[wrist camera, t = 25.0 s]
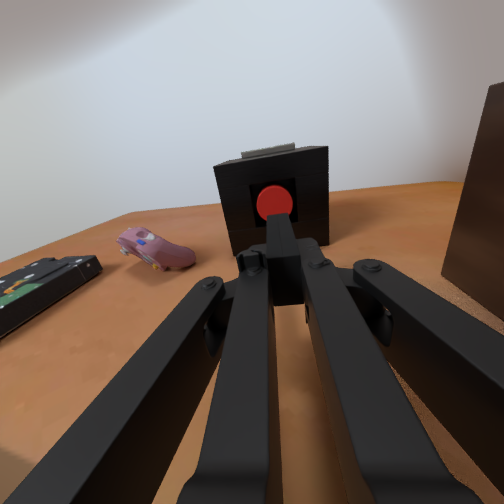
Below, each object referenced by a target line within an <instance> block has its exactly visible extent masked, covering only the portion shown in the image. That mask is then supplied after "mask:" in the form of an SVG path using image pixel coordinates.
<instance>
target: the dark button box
mask: <svg viewBox="0 0 504 504" xmlns="http://www.w3.org/2000/svg"><path fill="white" fill-rule="evenodd" d="M241 155H242V158H241V159H235V160H229V161H226V162H223V163H221V164H218V165H216V166H214V167H213V169H214V173H215V177H216V182H217V186H218V190H219V195H220V199H221V204H222V208H223V212H224V217H225V221H226V226H227V230H228V234H229V238H230V243H231V247H232V252H233V256H237V255H238V254H239V253H240V252H242V251H245V250H248V249H249V248H250V247H251V246H252V245H259V244H266V236H267V221H266V220H264V219H263V218H262V217H261V216H260V215H259V213H258V211H257V199H258V194H259V192H260V191H261V189H262V188H263V187H265V186H266V185H268V184H271V183H278V184H281V185H283V186H284V187H286V189H287V190H288V191H289V193H290V195H291V197H292V201H293V207H292V211H291V213H290V214H289V219H290V222H291V225H292V228H293V232H294V235H295V238H296V239H303V238H312V239H314V240H316V241H317V243H318V245H319V246H325V245H329V173H328V172H329V171H328V170H329V165H328V164H329V160H328V146H307V147H301V148H296V149H295V144H294V143H290V144H284V145H279V146H273V147H268V148H262V149H257V150H251V151H246V152H241Z"/></svg>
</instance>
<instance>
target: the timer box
mask: <svg viewBox="0 0 504 504" xmlns="http://www.w3.org/2000/svg"><path fill="white" fill-rule="evenodd" d="M441 275H442V276H444V277H445V278H446V279H448V280H449V281H450V282H452V283H453V284H454V285H456V286H457V287H459V288H460V289H461V290H463V291H464V292H465V293H467V294H468V295H469V296H471V297H472V298H473V299H475V300H476V301H478V302H479V303H480V304H482V305H483V306H484V307H486V308H487V309H488V310H490V311H491V312H492V313H494V314H495V315H497V316H498V317H499V318H501V319H502V320H503V321H504V82H501V83H497V84H494V85H491V86H489V89H488V93H487V97H486V101H485V105H484V108H483V112H482V116H481V120H480V124H479V128H478V132H477V136H476V140H475V143H474V147H473V151H472V155H471V159H470V163H469V166H468V170H467V175H466V178H465V182H464V186H463V190H462V194H461V197H460V201H459V205H458V209H457V213H456V217H455V221H454V225H453V228H452V232H451V236H450V240H449V244H448V248H447V252H446V256H445V259H444V263H443V267H442V271H441Z"/></svg>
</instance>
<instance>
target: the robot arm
mask: <svg viewBox="0 0 504 504" xmlns="http://www.w3.org/2000/svg"><path fill="white" fill-rule="evenodd" d="M236 260H237V264H238V269H239V277H238V278H236V279H234V280H232V281H229V282H225V283H223V279H222V278H220V277H216V276H213V277H206V278H204V279H202V280H200V281H199V282H198V283H196V284H195V286H194V287H193V288H192V289H191V290H190V291H189V292H188V293H187V295H186V296H185V297H184V298H183V299H182V300H181V301H180V303H179V304H178V305H177V306H176V307H175V308H174V309H173V311H172V312H171V313H170V314H169V315H168V316H167V317H166V318H165V320H164V321H163V322H162V323H161V324H160V325H159V326H158V328H157V329H156V330H155V331H154V332H153V333H152V334H151V336H150V337H149V338H148V339H147V340H146V341H145V342H144V344H143V345H142V346H141V347H140V348H139V349H138V350H137V351H136V353H135V354H134V355H133V356H132V357H131V358H130V359H129V361H128V362H127V363H126V364H125V365H124V366H123V367H122V369H121V370H120V371H119V372H118V373H117V374H116V375H115V376H114V378H113V379H112V380H111V381H110V382H109V383H108V384H107V386H106V387H105V388H104V389H103V390H102V391H101V392H100V394H99V395H98V396H97V397H96V398H95V399H94V400H93V402H92V403H91V404H90V405H89V406H88V407H87V408H86V409H85V411H84V412H83V413H82V414H81V415H80V416H79V417H78V419H77V420H76V421H75V422H74V423H73V424H72V425H71V427H70V428H69V429H68V430H67V431H66V432H65V433H64V434H63V436H62V437H61V438H60V439H59V440H58V441H57V442H56V444H55V445H54V446H53V447H52V448H51V449H50V450H49V452H48V453H47V454H46V455H45V456H44V457H43V458H42V460H41V461H40V462H39V463H38V464H37V465H36V466H35V467H34V469H33V470H32V471H31V472H30V473H29V474H28V475H27V477H26V478H25V479H24V480H23V481H22V482H21V483H20V485H19V486H18V487H17V488H16V489H15V490H14V491H13V493H12V494H11V495H10V496H9V497H8V499H6V500H5V502H4V503H3V504H152V502H153V500H154V497H155V495H156V493H157V491H158V489H159V487H160V485H161V483H162V481H163V478H164V476H165V474H166V472H167V470H168V468H169V466H170V464H171V462H172V460H173V457H174V455H175V453H176V451H177V449H178V447H179V445H180V443H181V441H182V439H183V436H184V434H185V432H186V430H187V428H188V426H189V424H190V422H191V420H192V418H193V415H194V413H195V411H196V409H197V407H198V405H199V403H200V401H201V399H202V396H203V394H204V392H205V390H206V388H207V386H208V384H209V382H210V380H211V378H212V375H213V373H214V371H215V369H216V367H217V365H218V363H219V361H220V365H219V369H218V374H217V378H216V383H215V388H214V392H213V397H212V402H211V406H210V411H209V415H208V420H207V425H206V429H205V434H204V439H203V443H202V448H201V452H200V457H199V461H198V465H197V468H196V470H195V473H194V475H193V476H192V477H191V478H190V479H189V480H188V481H187V482H186V483H185V484H184V486H183V488H182V490H181V492H180V495H179V497H178V500H177V503H176V504H283V486H282V465H281V443H280V422H279V400H278V378H277V357H276V335H275V314H274V307H273V306H285V305H297V304H304V302H305V315H306V323H308V326H309V330H310V335H311V339H312V344H313V348H314V352H315V357H316V361H317V366H318V370H319V375H320V379H321V384H322V388H323V393H324V397H325V402H326V406H327V410H328V415H329V419H330V424H331V428H332V433H333V437H334V442H335V446H336V451H337V455H338V459H339V464H340V468H341V473H342V477H343V482H344V486H345V491H346V495H347V500H348V504H484V503H483V502H482V500H481V499H480V498H479V497H478V496H477V495H476V494H475V493H474V491H473V490H471V489H470V488H468V487H467V486H465V485H464V484H462V483H461V482H459V481H458V480H456V479H455V478H454V477H453V475H452V474H451V473H450V472H449V471H448V469H447V467H446V466H445V464H444V463H443V461H442V459H441V457H440V456H439V454H438V452H437V450H436V448H435V447H434V445H433V443H432V441H431V439H430V438H429V436H428V434H427V432H426V430H425V429H424V427H423V425H422V423H421V421H420V420H419V418H418V416H417V414H416V412H415V410H414V409H413V407H412V405H411V403H410V401H409V400H408V398H407V396H406V394H405V392H404V391H403V389H402V387H401V385H400V383H399V382H398V380H397V378H396V376H395V374H394V372H393V371H392V369H391V367H390V365H389V363H390V364H391V365H392V367H393V368H394V369H395V370H396V371H397V372H398V374H399V375H400V376H401V377H402V378H403V379H404V381H405V382H406V383H407V384H408V385H409V386H410V388H411V389H412V390H413V391H414V392H415V393H416V395H417V396H418V397H419V398H420V399H421V400H422V402H423V403H424V404H425V405H426V406H427V407H428V409H429V410H430V411H431V412H432V413H433V414H434V416H435V417H436V418H437V419H438V420H439V421H440V423H441V424H442V425H443V426H444V427H445V428H446V430H447V431H448V432H449V433H450V434H451V435H452V437H453V438H454V439H455V440H456V441H457V442H458V444H459V445H460V446H461V447H462V448H463V449H464V451H465V452H466V453H467V454H468V455H469V456H470V458H471V459H472V460H473V461H474V462H475V463H476V465H477V466H478V467H479V468H480V469H481V470H482V472H483V473H484V474H485V475H486V476H487V477H488V479H489V480H490V481H491V482H492V483H493V484H494V486H495V487H496V488H497V489H498V490H499V491H500V493H501V494H502V495H503V496H504V335H502V334H500V333H499V332H497V331H496V330H494V329H492V328H491V327H489V326H487V325H486V324H484V323H483V322H481V321H479V320H478V319H476V318H474V317H473V316H471V315H470V314H468V313H466V312H465V311H463V310H461V309H460V308H458V307H457V306H455V305H453V304H452V303H450V302H448V301H447V300H445V299H444V298H442V297H440V296H439V295H437V294H435V293H434V292H432V291H431V290H429V289H427V288H426V287H424V286H422V285H421V284H419V283H418V282H416V281H414V280H413V279H411V278H409V277H408V276H406V275H405V274H403V273H401V272H400V271H398V270H396V269H395V268H393V267H392V266H390V265H388V264H387V263H385V262H382V261H379V260H375V259H364V260H359V261H357V262H355V263H354V264H353V269H346V268H338V267H335V266H334V264H333V262H332V261H331V260H329V259H327V258H325V257H324V255H323V253H322V251H321V249H320V247H319V245H318V243H317V241H316V240H314V239H312V238H303V239H296V238H295V235H294V232H293V228H292V225H291V222H290V219H289V215H288V213H281V214H274V215H267V236H266V244H259V245H252V246H251V247H250V248H249V249H248V250H245V251H242V252H240V253H239V254H238V255H237V256H236ZM386 308H387V309H388V310H389V311H387V310H386ZM220 359H221V360H220ZM387 361H388V362H389V363H388V362H387Z"/></svg>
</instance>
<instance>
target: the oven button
mask: <svg viewBox="0 0 504 504" xmlns="http://www.w3.org/2000/svg"><path fill="white" fill-rule="evenodd" d="M292 207H293V201H292V197H291V195H290V193H289V191H288V190H287V189H286V187H284V186H283V185H281V184H278V183H271V184H268V185H266V186H265V187H263V188H262V189H261V191H260V192H259V194H258V199H257V211H258V213H259V215H260V216H261V217H262V218H263V219H264V220H266V221H267V215H274V214H281V213H288V215H289V214H290V213H291V211H292Z"/></svg>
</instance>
